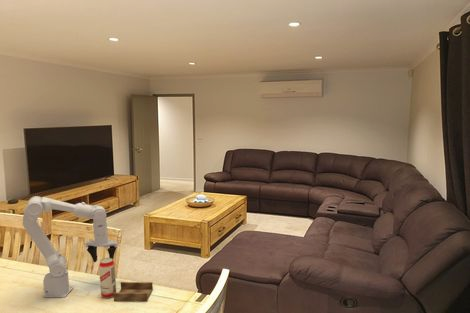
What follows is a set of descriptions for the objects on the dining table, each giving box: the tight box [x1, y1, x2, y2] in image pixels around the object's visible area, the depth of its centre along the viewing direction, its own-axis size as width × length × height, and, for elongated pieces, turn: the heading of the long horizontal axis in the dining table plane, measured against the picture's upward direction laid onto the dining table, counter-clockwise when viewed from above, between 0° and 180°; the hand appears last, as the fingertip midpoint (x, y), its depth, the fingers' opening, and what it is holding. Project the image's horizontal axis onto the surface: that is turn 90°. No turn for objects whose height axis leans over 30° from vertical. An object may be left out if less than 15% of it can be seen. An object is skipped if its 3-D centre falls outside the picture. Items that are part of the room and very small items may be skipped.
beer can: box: [98, 257, 117, 299], centre depth 153 cm, size 6×6×16 cm
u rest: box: [113, 281, 154, 303], centre depth 154 cm, size 14×10×4 cm
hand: (103, 261), depth 162 cm, fingers open, 7 cm apart
